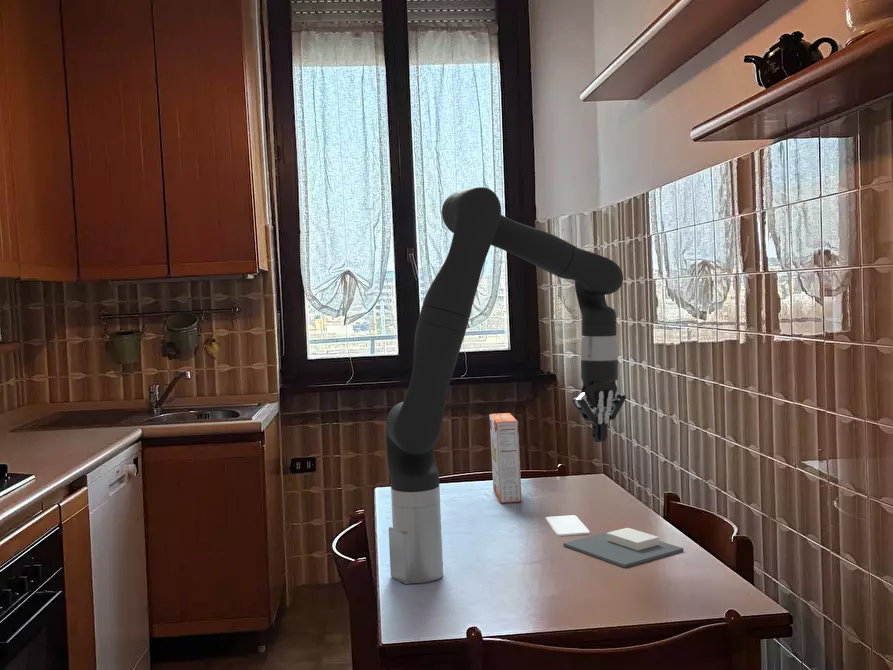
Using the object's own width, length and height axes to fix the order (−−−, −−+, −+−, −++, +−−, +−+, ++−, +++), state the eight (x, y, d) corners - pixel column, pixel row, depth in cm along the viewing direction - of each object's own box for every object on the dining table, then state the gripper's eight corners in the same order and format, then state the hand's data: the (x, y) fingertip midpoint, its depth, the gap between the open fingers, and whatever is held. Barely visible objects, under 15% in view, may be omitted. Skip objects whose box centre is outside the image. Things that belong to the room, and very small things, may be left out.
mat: (624, 567, 163) (624, 564, 163) (563, 545, 179) (563, 543, 179) (683, 551, 172) (683, 548, 172) (620, 531, 187) (620, 528, 187)
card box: (637, 542, 171) (659, 537, 174) (606, 532, 179) (627, 527, 182) (637, 551, 171) (659, 545, 174) (606, 540, 179) (627, 535, 182)
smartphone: (575, 515, 201) (590, 532, 186) (575, 518, 201) (591, 535, 186) (544, 516, 201) (557, 534, 186) (544, 520, 201) (557, 537, 186)
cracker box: (491, 491, 229) (488, 413, 228) (514, 489, 230) (511, 412, 229) (498, 504, 216) (495, 421, 214) (522, 502, 216) (519, 420, 215)
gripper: (586, 360, 170) (587, 447, 171) (635, 357, 177) (636, 440, 178) (562, 358, 176) (563, 442, 177) (610, 355, 183) (611, 435, 184)
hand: (599, 441), depth 177 cm, fingers closed
